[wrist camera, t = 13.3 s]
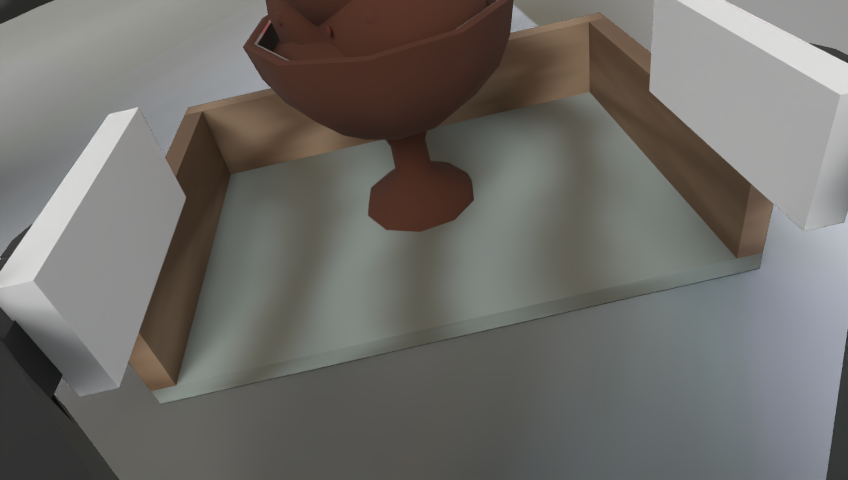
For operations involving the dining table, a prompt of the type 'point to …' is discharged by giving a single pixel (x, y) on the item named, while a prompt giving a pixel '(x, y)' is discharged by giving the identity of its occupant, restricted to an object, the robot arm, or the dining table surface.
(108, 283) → the robot arm
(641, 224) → the bay
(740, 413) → the dining table surface
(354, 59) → the ice cream bowl
